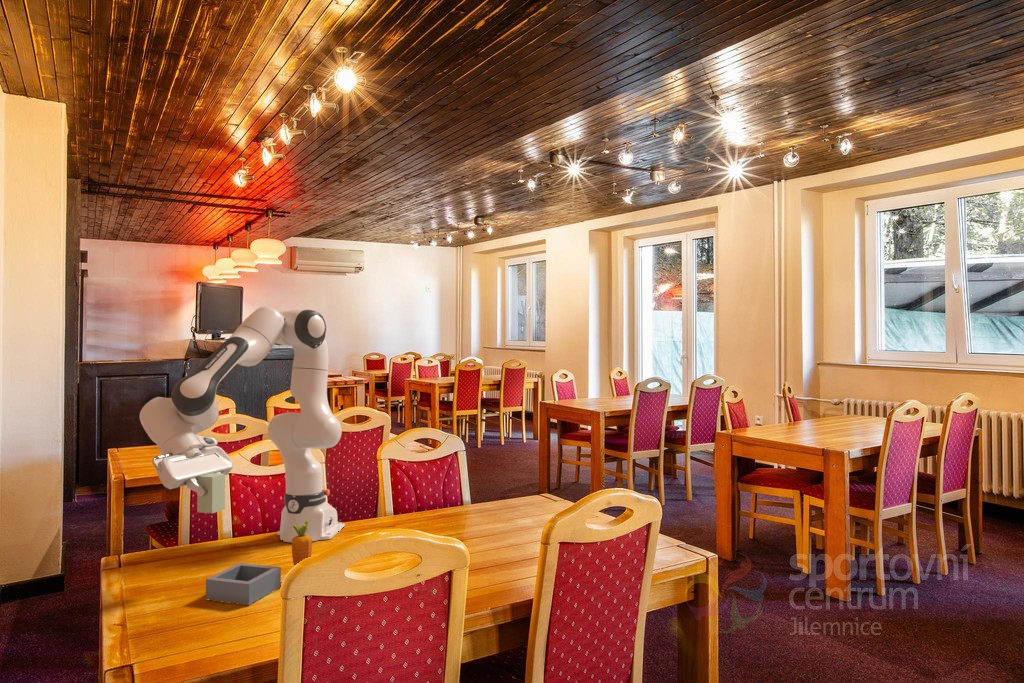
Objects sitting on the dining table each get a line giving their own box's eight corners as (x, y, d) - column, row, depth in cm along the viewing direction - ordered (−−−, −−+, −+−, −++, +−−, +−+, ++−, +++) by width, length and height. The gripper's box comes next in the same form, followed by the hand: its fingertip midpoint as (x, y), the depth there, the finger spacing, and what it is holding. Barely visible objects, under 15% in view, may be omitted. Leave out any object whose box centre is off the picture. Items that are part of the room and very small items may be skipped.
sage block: (210, 507, 166) (210, 472, 166) (224, 509, 164) (225, 473, 164) (197, 512, 161) (197, 476, 161) (212, 513, 160) (212, 477, 160)
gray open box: (239, 582, 164) (239, 562, 164) (280, 587, 160) (280, 567, 161) (205, 600, 152) (205, 579, 152) (249, 605, 149) (249, 584, 149)
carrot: (290, 584, 163) (291, 524, 163) (292, 577, 167) (292, 519, 168) (311, 582, 164) (311, 523, 164) (312, 575, 169) (312, 518, 169)
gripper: (156, 448, 155) (187, 492, 152) (219, 437, 175) (248, 476, 172) (141, 466, 157) (172, 509, 154) (206, 453, 176) (235, 491, 173)
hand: (213, 491), depth 163 cm, fingers closed on sage block, 5 cm apart
